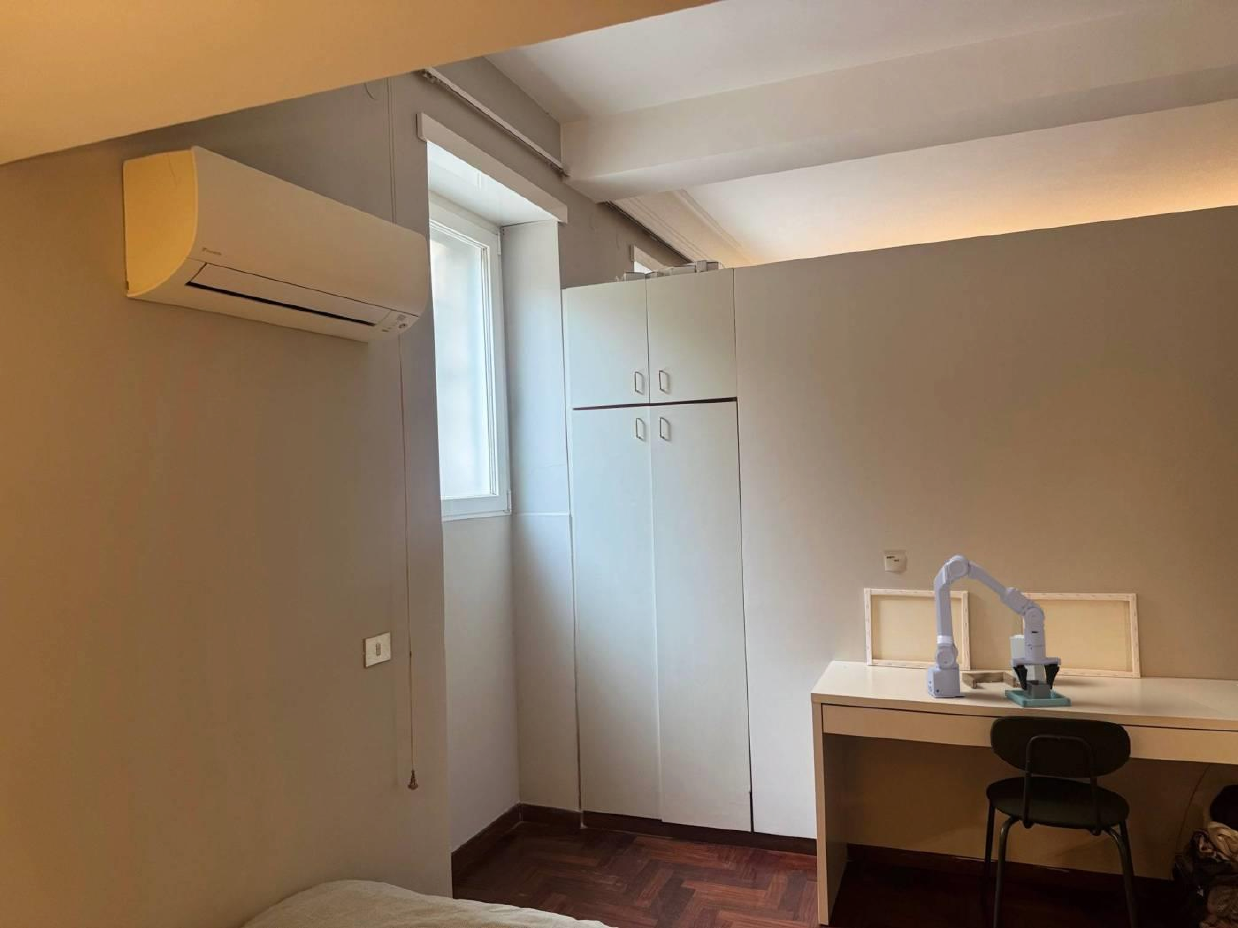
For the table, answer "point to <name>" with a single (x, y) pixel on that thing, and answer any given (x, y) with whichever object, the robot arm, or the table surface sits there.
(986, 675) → the bay
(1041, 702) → the tray
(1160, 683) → the table surface
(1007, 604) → the robot arm
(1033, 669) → the skincare box
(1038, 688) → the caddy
